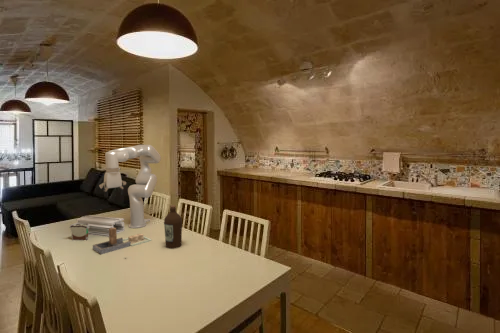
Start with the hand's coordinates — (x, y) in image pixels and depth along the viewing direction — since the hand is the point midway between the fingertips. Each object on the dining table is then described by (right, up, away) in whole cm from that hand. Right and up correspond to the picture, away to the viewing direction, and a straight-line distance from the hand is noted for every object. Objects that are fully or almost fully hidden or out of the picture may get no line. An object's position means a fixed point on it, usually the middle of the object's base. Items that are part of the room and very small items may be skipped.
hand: (113, 196), depth 187 cm
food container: (-20, -28, -1) cm, 35 cm away
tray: (+18, -29, -9) cm, 35 cm away
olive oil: (+43, -29, -13) cm, 54 cm away
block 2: (+20, -28, -7) cm, 35 cm away
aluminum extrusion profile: (-17, -27, +13) cm, 35 cm away
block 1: (+17, -28, -10) cm, 35 cm away
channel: (+9, -30, -20) cm, 37 cm away
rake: (+9, -28, -20) cm, 36 cm away
